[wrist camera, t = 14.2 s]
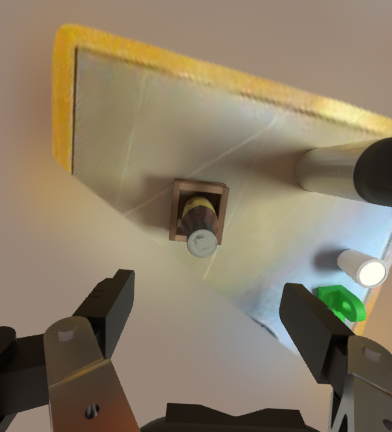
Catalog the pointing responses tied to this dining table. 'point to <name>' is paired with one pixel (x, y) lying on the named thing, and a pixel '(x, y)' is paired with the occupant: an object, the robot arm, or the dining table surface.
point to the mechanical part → (342, 303)
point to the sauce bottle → (200, 226)
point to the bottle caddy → (191, 188)
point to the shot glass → (363, 268)
